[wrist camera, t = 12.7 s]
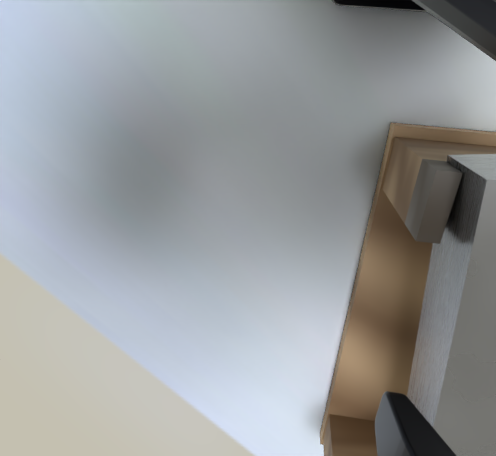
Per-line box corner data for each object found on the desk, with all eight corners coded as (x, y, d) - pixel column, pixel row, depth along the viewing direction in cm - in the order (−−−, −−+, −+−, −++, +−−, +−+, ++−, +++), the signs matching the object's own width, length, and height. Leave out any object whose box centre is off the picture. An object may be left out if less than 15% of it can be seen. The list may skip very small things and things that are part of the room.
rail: (447, 155, 13) (486, 180, 10) (535, 153, 13) (600, 178, 10) (385, 522, 22) (397, 589, 19) (436, 528, 21) (456, 596, 19)
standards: (391, 122, 17) (437, 153, 12) (553, 137, 17) (690, 179, 11) (320, 433, 26) (325, 540, 20) (424, 450, 26) (461, 565, 20)
